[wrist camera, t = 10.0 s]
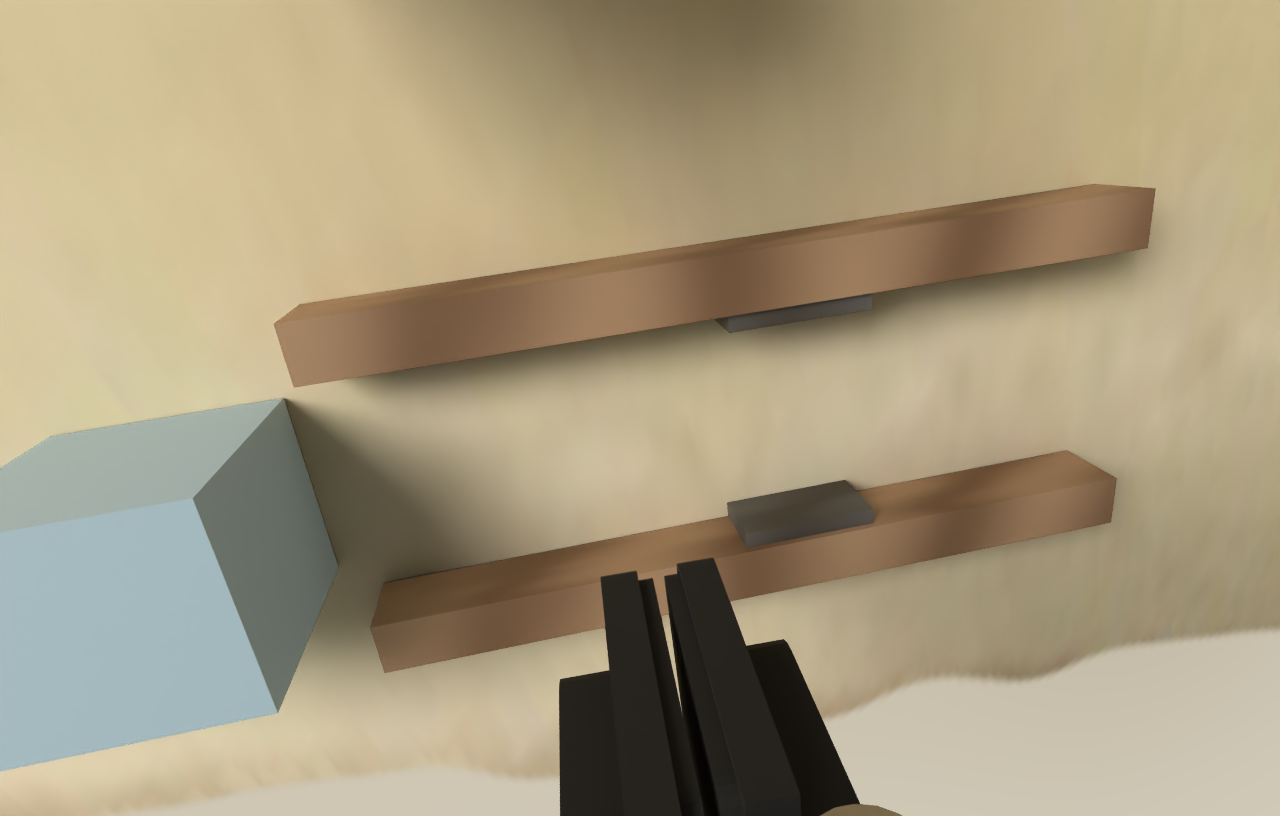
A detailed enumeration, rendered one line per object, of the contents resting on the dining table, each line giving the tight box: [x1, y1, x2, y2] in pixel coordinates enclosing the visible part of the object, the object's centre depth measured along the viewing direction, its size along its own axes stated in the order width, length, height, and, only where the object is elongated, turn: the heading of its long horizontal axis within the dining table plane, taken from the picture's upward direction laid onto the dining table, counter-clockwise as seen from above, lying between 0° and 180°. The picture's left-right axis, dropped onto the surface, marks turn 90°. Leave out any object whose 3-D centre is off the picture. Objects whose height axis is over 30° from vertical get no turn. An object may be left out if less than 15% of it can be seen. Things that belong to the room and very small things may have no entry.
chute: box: [274, 184, 1156, 673], centre depth 21 cm, size 23×10×2 cm, turn 97°
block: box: [0, 398, 338, 771], centre depth 18 cm, size 6×6×6 cm
